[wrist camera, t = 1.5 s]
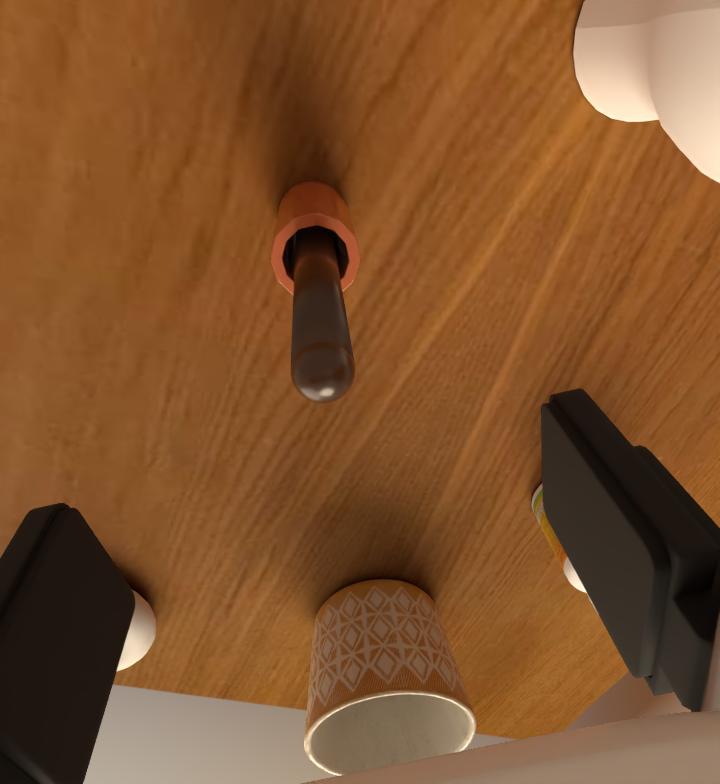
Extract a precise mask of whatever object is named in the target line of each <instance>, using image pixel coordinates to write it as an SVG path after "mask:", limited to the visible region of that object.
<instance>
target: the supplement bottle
mask: <svg viewBox="0 0 720 784" xmlns="http://www.w3.org/2000/svg"><path fill="white" fill-rule="evenodd" d="M532 509H533V512H534V514H535V516H536V518H537V520H538V522H539V524H540V526H541V528H542V530H543V532H544V534H545V536H546V538H547V540H548V542H549V544H550V546H551V548H552V550H553V552H554V554H555V556H556V558H557V560H558V562H559V563H560V565H561V567H562V569H563V571H564V573H565V575H566V577H567V578H568V580H569V582H570V583H571V584H572V585H573V586H574V587H575V588H577V589H578V590H580V591H583V592H586V590H585V588H584V586H583V585H582V583H581V581H580V579H579V577H578V575H577V573H576V572H575V570H574V568H573V566H572V564H571V562H570V561H569V559H568V557H567V555H566V553H565V551H564V549H563V548H562V546H561V544H560V542H559V540H558V538H557V537H556V535H555V533H554V531H553V529H552V527H551V525H550V524H549V522H548V520H547V517H546V515H545V511H544V507H543V491H542V484H541V485H540V486H539V487H538V489H537V490H536V491H535V493H534V495H533V498H532ZM586 593H587V592H586ZM588 597H589V596H588ZM589 600H590V601H591V599H590V597H589ZM591 603H592V601H591ZM592 605H593V603H592ZM593 606H594V605H593ZM594 608H595V607H594ZM595 610H596V609H595ZM596 612H597V610H596ZM597 613H598V612H597Z"/></svg>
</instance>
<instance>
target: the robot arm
mask: <svg viewBox="0 0 720 784" xmlns="http://www.w3.org/2000/svg"><path fill="white" fill-rule="evenodd" d="M541 437H542V491H543V507H544V511H545V515H546V517H547V520H548V522H549V524H550V525H551V527H552V529H553V531H554V533H555V535H556V537H557V538H558V540H559V542H560V544H561V546H562V548H563V549H564V551H565V553H566V555H567V557H568V559H569V561H570V562H571V564H572V566H573V568H574V570H575V572H576V573H577V575H578V577H579V579H580V581H581V583H582V585H583V586H584V588H585V590H586V592H587V594H588V596H589V597H590V599H591V601H592V603H593V605H594V607H595V609H596V610H597V612H598V614H599V616H600V618H601V620H602V621H603V623H604V625H605V627H606V629H607V631H608V633H609V634H610V636H611V638H612V640H613V642H614V644H615V645H616V647H617V649H618V651H619V653H620V655H621V657H622V658H623V660H624V662H625V664H626V666H627V668H628V669H629V671H630V672H631V673H632V675H633V676H634V677H635V678H640V677H644V678H645V680H646V682H647V684H648V686H649V687H650V689H651V691H652V693H653V695H654V696H656V695H661V694H665V693H671V692H675V694H676V695H677V697H678V699H679V700H680V702H681V704H682V705H683V706H684V707H686V708H688V709H690V710H691V712H683V713H676V714H667V715H660V716H652V717H644V718H636V719H629V720H623V721H618V722H612V723H607V724H601V725H596V726H591V727H585V728H580V729H574V730H569V731H563V732H557V733H552V734H546V735H541V736H535V737H530V738H525V739H520V740H515V741H510V742H505V743H500V744H495V745H490V746H485V747H480V748H475V749H470V750H465V751H460V752H455V753H450V754H445V755H440V756H435V757H430V758H425V759H420V760H415V761H410V762H405V763H400V764H395V765H390V766H385V767H380V768H375V769H370V770H365V771H361V772H356V773H351V774H346V775H341V776H336V777H331V778H327V779H322V780H317V781H312V782H307V783H303V784H720V528H719V527H718V526H717V525H716V524H715V523H714V521H713V520H712V519H711V518H710V517H709V516H708V515H707V514H706V513H705V511H704V510H703V509H702V508H701V507H700V506H699V505H698V504H697V503H696V501H695V500H694V499H693V498H692V497H691V496H690V495H689V494H688V493H687V491H686V490H685V489H684V488H683V487H682V486H681V485H680V484H679V483H678V481H677V480H676V479H675V478H674V477H673V476H672V475H671V474H670V473H669V471H668V470H667V469H666V468H665V467H664V466H663V465H662V464H661V463H660V461H659V460H658V459H657V458H656V457H655V456H654V455H653V454H652V453H651V452H650V451H649V450H648V449H647V448H646V447H643V446H640V445H639V446H635V447H633V446H632V445H631V444H630V443H629V441H628V440H627V439H626V438H625V437H624V436H623V435H622V433H621V432H620V431H619V430H618V429H617V428H616V426H615V425H614V424H613V423H612V422H611V421H610V420H609V418H608V417H607V416H606V415H605V414H604V413H603V411H602V410H601V409H600V408H599V407H598V406H597V405H596V403H595V402H594V401H593V400H592V399H591V398H590V396H589V395H588V394H587V393H586V392H585V391H584V390H583V389H580V388H579V389H575V390H570V391H566V392H561V393H557V394H552V395H551V396H550V399H549V403H546V404H543V405H542V407H541ZM134 611H135V596H134V593H133V591H132V589H131V588H130V586H129V585H128V583H127V582H126V580H125V579H124V577H123V576H122V574H121V573H120V571H119V570H118V568H117V567H116V565H115V564H114V562H113V561H112V559H111V558H110V556H109V555H108V553H107V552H106V551H105V549H104V548H103V546H102V545H101V543H100V542H99V540H98V539H97V537H96V536H95V534H94V533H93V531H92V530H91V528H90V527H89V525H88V524H87V522H86V521H85V519H84V518H83V516H82V515H81V513H80V512H79V511H78V510H77V509H75V508H70V507H69V506H68V505H66V504H64V503H58V504H54V505H49V506H45V507H40V508H35V509H33V510H31V511H29V512H28V514H27V515H26V516H25V518H24V520H23V521H22V523H21V525H20V526H19V528H18V530H17V531H16V533H15V535H14V536H13V538H12V540H11V541H10V543H9V545H8V546H7V548H6V550H5V551H4V553H3V555H2V557H1V558H0V784H83V782H84V779H85V775H86V772H87V768H88V765H89V762H90V759H91V755H92V752H93V748H94V745H95V742H96V738H97V735H98V732H99V728H100V725H101V721H102V718H103V715H104V712H105V708H106V705H107V701H108V698H109V695H110V691H111V688H112V685H113V681H114V678H115V675H116V671H117V668H118V664H119V661H120V658H121V654H122V651H123V648H124V644H125V641H126V638H127V634H128V631H129V628H130V624H131V621H132V617H133V614H134Z"/></svg>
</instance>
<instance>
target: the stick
mask: <svg viewBox="0 0 720 784" xmlns="http://www.w3.org/2000/svg"><path fill="white" fill-rule="evenodd" d="M291 377H292V381H293V384H294V386H295V387H296V389H297V390H298V392H299V393H300V394H301V395H302V396H304V397H305V398H307V399H309V400H311V401H314V402H318V403H328V402H332V401H335V400H337V399H339V398H341V397H342V396H343V395H345V394H346V393H347V392H348V390H349V389H350V387H351V386H352V383H353V381H354V377H355V364H354V358H353V352H352V346H351V340H350V334H349V328H348V322H347V316H346V310H345V304H344V298H343V293H342V287H341V281H340V275H339V269H338V263H337V257H336V251H335V245H334V239H333V233H332V230H331V229H327V228H324V227H321V226H318V225H315V226H311V227H306V228H302V229H299V230H298V231H297V232H296V244H295V270H294V296H293V322H292V348H291Z"/></svg>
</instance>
